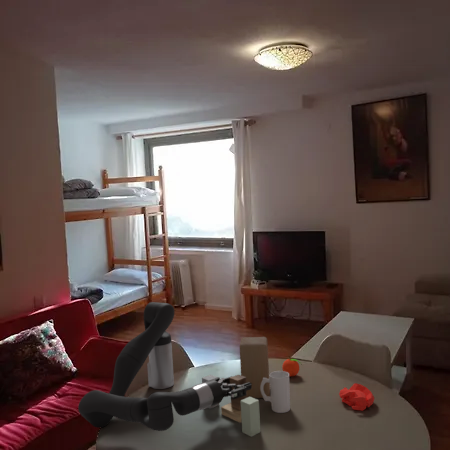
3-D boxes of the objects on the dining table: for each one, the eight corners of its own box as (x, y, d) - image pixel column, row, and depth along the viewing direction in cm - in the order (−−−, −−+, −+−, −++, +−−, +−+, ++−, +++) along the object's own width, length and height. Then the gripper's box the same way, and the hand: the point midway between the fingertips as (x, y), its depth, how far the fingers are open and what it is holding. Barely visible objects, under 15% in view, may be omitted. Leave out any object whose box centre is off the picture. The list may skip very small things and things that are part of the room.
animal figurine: (369, 393, 164) (369, 379, 164) (377, 411, 149) (377, 396, 149) (336, 392, 166) (336, 379, 166) (341, 411, 151) (341, 396, 151)
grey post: (210, 408, 158) (208, 380, 158) (203, 405, 161) (201, 377, 161) (219, 405, 161) (217, 377, 160) (212, 401, 164) (210, 374, 163)
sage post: (251, 436, 138) (249, 404, 137) (242, 432, 141) (240, 400, 140) (260, 431, 140) (258, 400, 140) (251, 427, 143) (249, 396, 143)
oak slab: (239, 424, 147) (239, 415, 147) (221, 415, 154) (221, 406, 153) (259, 414, 153) (258, 405, 153) (240, 406, 160) (240, 398, 159)
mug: (290, 404, 158) (289, 370, 157) (291, 413, 151) (289, 378, 151) (262, 404, 159) (260, 370, 159) (260, 413, 153) (259, 378, 152)
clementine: (303, 373, 186) (302, 356, 186) (302, 379, 179) (301, 362, 179) (283, 372, 188) (282, 355, 187) (281, 379, 181) (280, 361, 181)
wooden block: (269, 387, 173) (267, 336, 172) (269, 398, 163) (267, 344, 162) (243, 387, 174) (240, 336, 173) (242, 399, 164) (239, 344, 163)
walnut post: (239, 410, 150) (237, 380, 149) (231, 407, 153) (229, 377, 152) (248, 406, 152) (246, 377, 152) (240, 403, 155) (238, 374, 155)
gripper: (191, 401, 148) (228, 388, 159) (219, 413, 137) (257, 398, 148) (190, 378, 148) (227, 366, 159) (218, 389, 137) (256, 375, 148)
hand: (242, 382), depth 153 cm, fingers open, 8 cm apart
